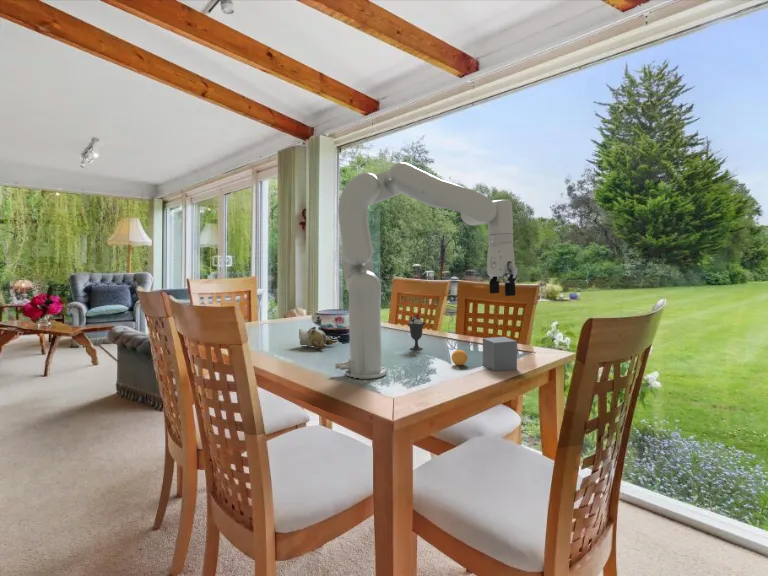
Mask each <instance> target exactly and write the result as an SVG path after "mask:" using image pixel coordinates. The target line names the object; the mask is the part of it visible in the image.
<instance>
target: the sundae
mask: <svg viewBox="0 0 768 576" xmlns="http://www.w3.org/2000/svg"><path fill="white" fill-rule="evenodd" d="M420 312H421V310H418V312H417V314H416V315H413V316H410V321H408V322H407V325H408V326H409V333H410V336H411V338H412V340H414V346H413V347H410V348H409V350H410V351H424V348H423V347H420V346H419V340H420V339H421V338H422V336H423V329H424V326H425V324H426V322H423V320H422V318H421V316H420Z"/></svg>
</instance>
